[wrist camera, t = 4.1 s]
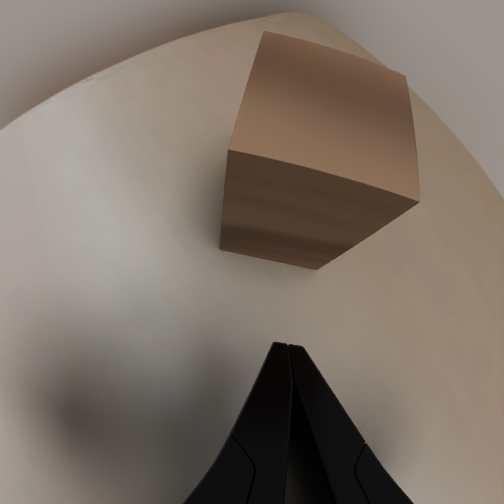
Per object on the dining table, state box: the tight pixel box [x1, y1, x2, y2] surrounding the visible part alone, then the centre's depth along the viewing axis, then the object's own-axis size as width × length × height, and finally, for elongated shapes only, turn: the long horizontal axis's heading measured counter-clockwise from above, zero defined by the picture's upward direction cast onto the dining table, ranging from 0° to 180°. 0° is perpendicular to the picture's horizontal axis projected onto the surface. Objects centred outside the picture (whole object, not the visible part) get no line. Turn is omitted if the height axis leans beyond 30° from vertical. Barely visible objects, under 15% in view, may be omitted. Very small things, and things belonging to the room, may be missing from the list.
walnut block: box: [220, 31, 420, 270], centre depth 12 cm, size 5×5×9 cm
